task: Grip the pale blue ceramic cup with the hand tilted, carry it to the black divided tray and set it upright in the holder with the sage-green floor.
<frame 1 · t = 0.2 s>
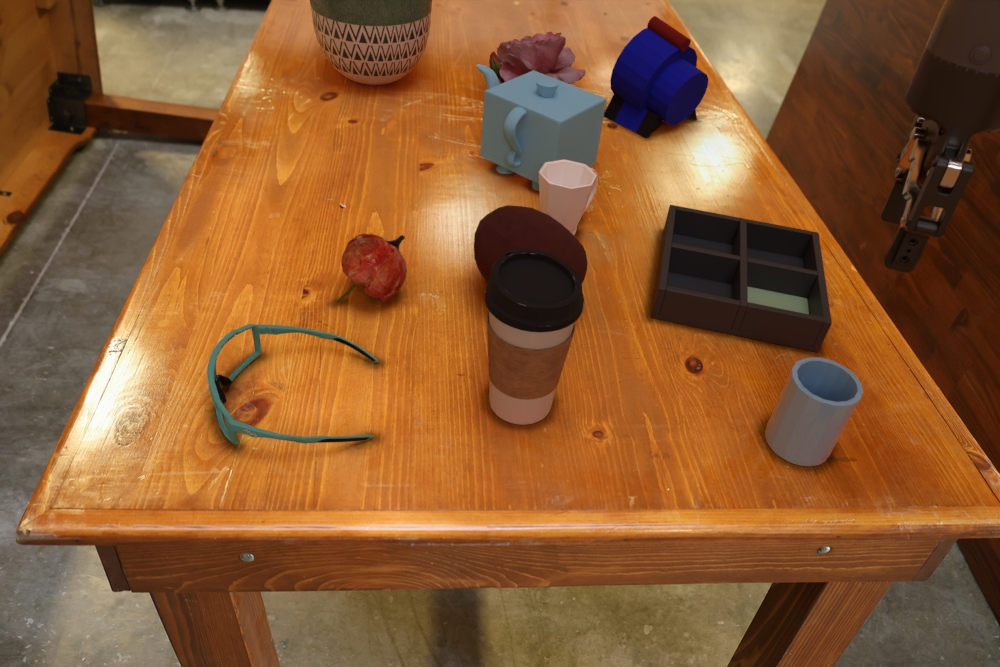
hand: (894, 243, 66), 18 cm above the table, tool pointing down, fingers open, 8 cm apart
dark brown oval ball: (524, 298, 86), on the table
cup: (566, 227, 97), on the table
teapot: (520, 164, 109), on the table
blue cup: (797, 441, 72), on the table
pomegranate: (372, 295, 84), on the table
sunglasses: (296, 400, 71), on the table
planter: (373, 79, 127), on the table
flower: (533, 94, 127), on the table
black divided tray: (733, 287, 90), on the table
coffee cup: (520, 403, 73), on the table
alarm clock: (653, 120, 123), on the table
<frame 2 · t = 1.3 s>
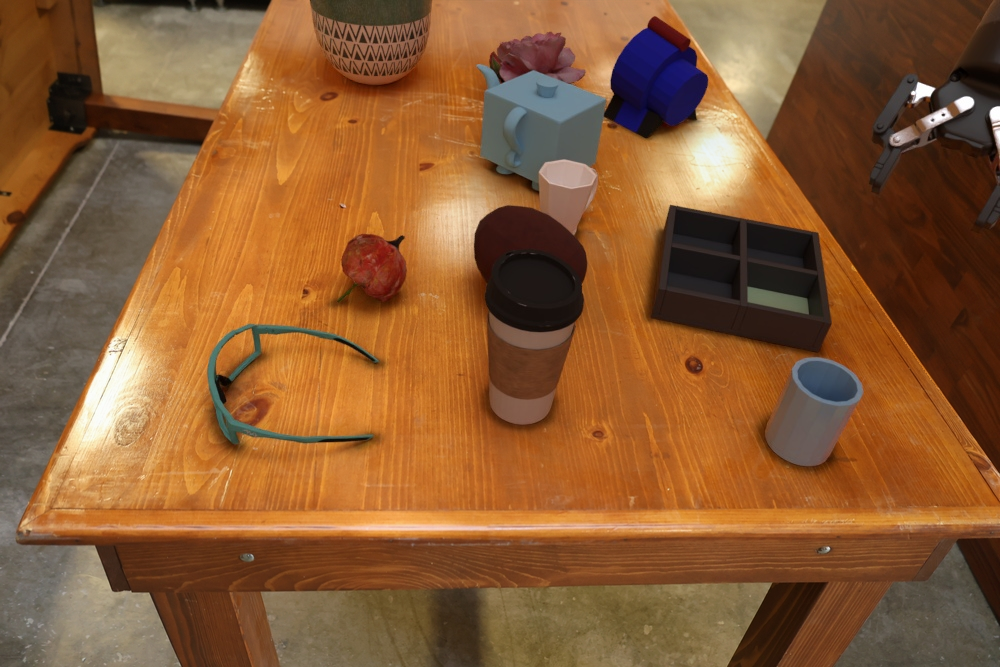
hand: (924, 209, 66), 20 cm above the table, tool tilted 45°, fingers open, 8 cm apart
nothing on the table moved.
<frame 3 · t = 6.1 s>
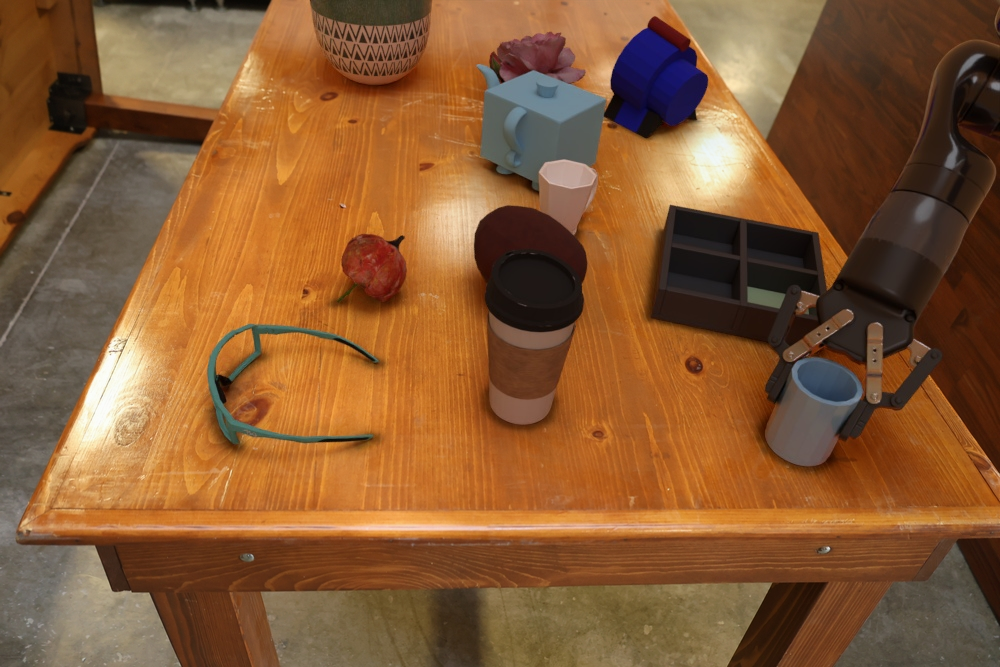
hand: (806, 420, 68), 4 cm above the table, tool tilted 45°, fingers closed on blue cup, 6 cm apart
blue cup: (797, 441, 72), on the table, touching gripper
everything else where it was.
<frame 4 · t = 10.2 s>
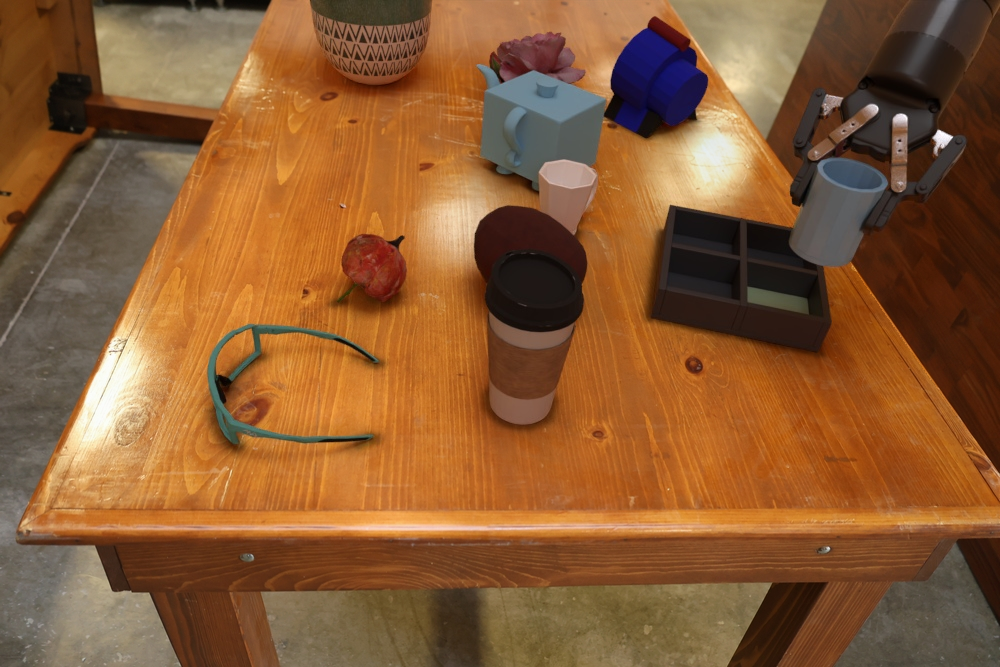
hand: (830, 216, 69), 18 cm above the table, tool tilted 45°, fingers closed on blue cup, 6 cm apart
blue cup: (820, 248, 73), point 13 cm above the table, touching gripper
everything else where it was.
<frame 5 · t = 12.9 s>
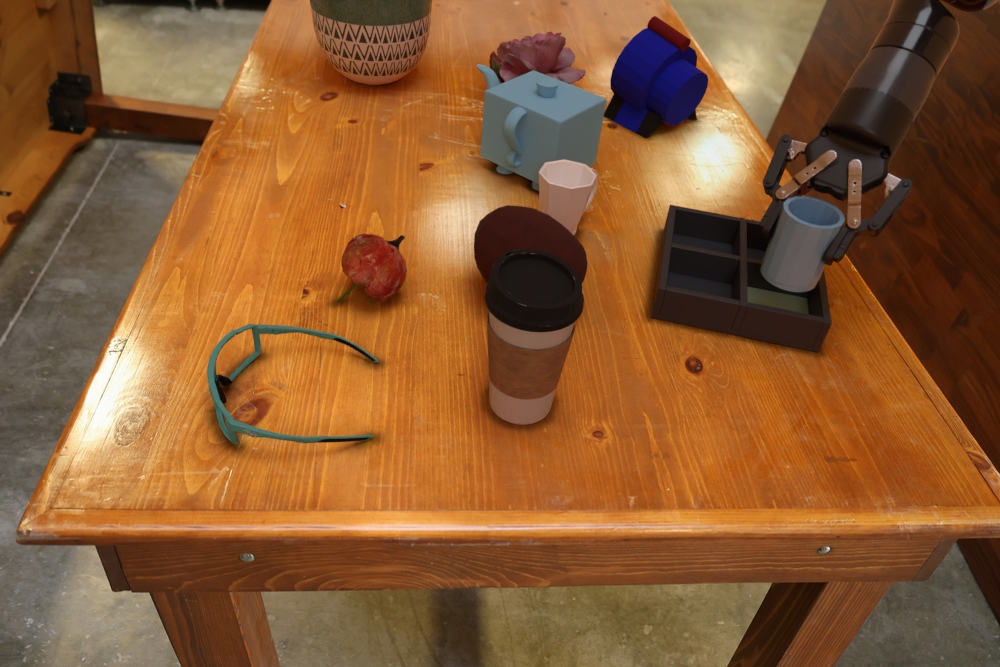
hand: (795, 248, 79), 10 cm above the table, tool tilted 45°, fingers closed on blue cup, 6 cm apart
blue cup: (788, 275, 83), point 6 cm above the table, touching gripper
everything else where it was.
when the fingers open (5 cm above the table, at t = 14.8 s): blue cup stays where it is, resting on black divided tray.
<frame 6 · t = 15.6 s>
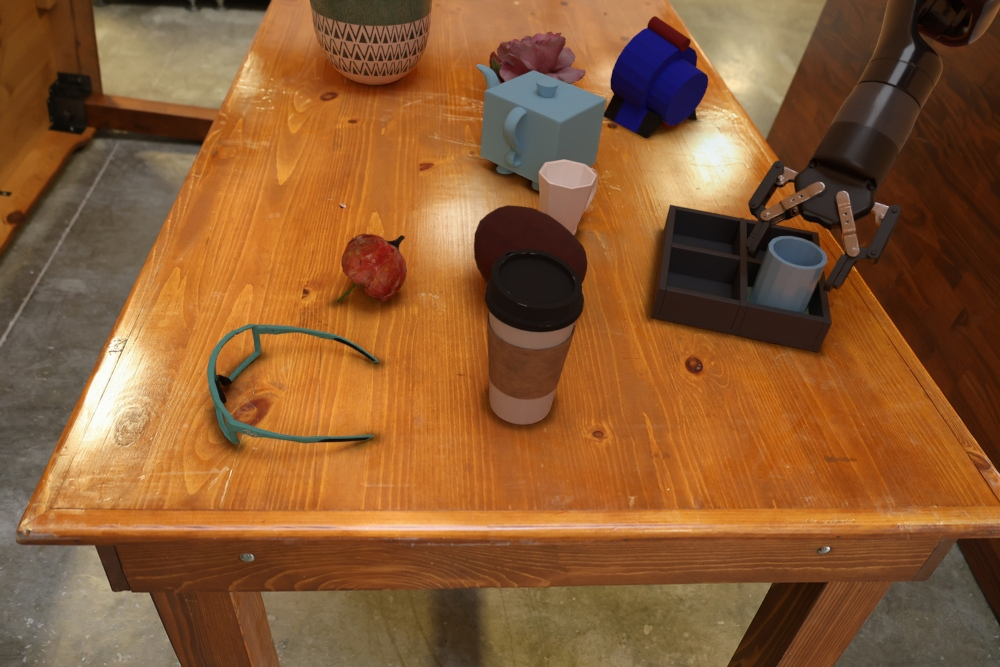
hand: (788, 272, 81), 7 cm above the table, tool tilted 45°, fingers open, 8 cm apart
blue cup: (774, 311, 86), point 1 cm above the table, touching black divided tray
everything else where it was.
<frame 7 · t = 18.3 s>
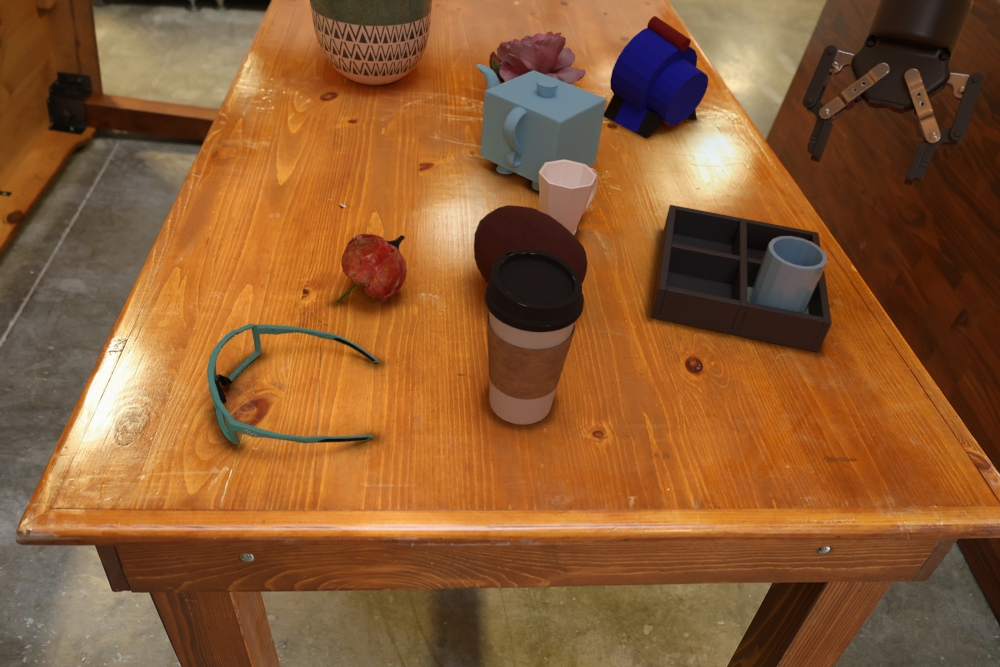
hand: (860, 172, 73), 19 cm above the table, tool tilted 30°, fingers open, 8 cm apart
nothing on the table moved.
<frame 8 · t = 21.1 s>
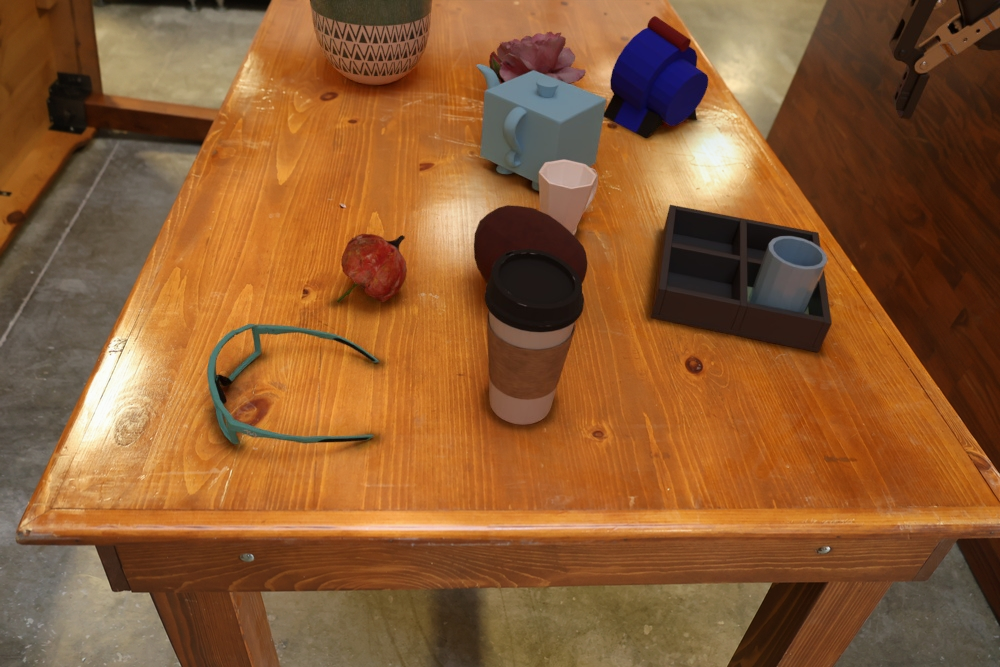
hand: (958, 124, 61), 28 cm above the table, tool pointing down, fingers open, 8 cm apart
nothing on the table moved.
at the end: blue cup 0.1 cm from the target spot in the black divided tray, point 0.8 cm above the black divided tray's base; blue cup tilted 0° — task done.
